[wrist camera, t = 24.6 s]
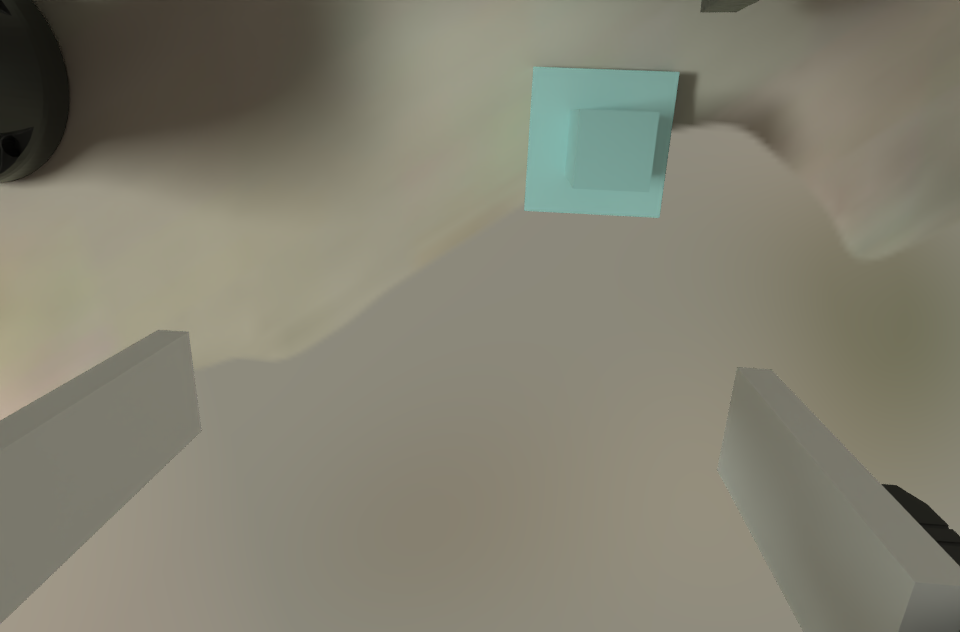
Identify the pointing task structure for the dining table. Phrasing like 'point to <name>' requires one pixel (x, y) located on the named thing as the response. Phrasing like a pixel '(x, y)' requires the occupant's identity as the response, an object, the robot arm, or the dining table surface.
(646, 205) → the cover
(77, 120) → the dining table surface
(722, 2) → the grey lever handle
